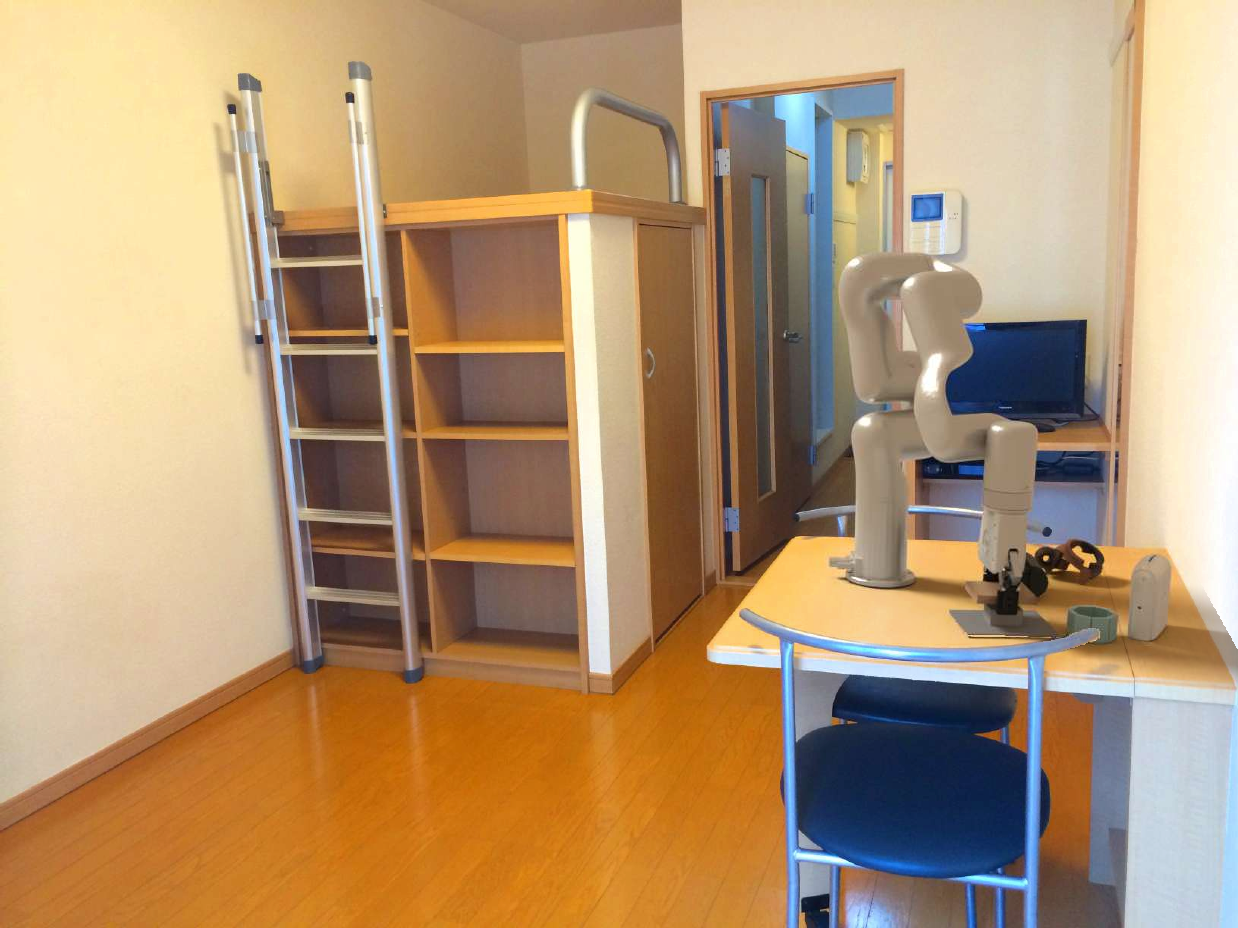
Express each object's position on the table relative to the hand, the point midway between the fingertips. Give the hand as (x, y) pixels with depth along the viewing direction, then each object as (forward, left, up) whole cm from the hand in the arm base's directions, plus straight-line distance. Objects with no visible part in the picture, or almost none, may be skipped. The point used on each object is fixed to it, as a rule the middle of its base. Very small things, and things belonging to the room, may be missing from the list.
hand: (998, 604), depth 164 cm
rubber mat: (0, -1, -3) cm, 3 cm away
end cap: (+8, +16, -3) cm, 19 cm away
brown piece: (+20, +27, -3) cm, 34 cm away
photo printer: (+22, -3, -3) cm, 22 cm away
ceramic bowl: (+12, -6, -3) cm, 14 cm away
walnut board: (0, 0, +1) cm, 1 cm away
